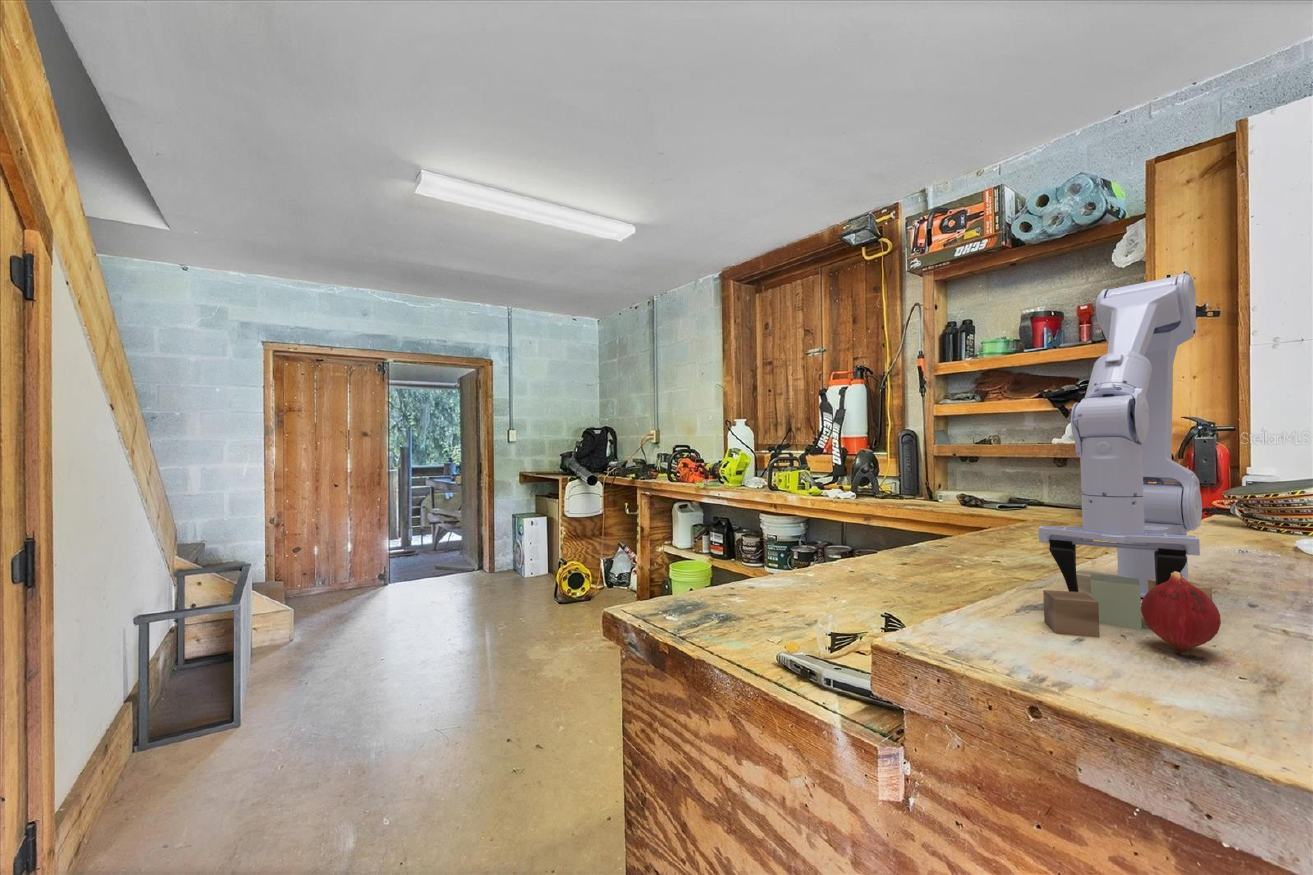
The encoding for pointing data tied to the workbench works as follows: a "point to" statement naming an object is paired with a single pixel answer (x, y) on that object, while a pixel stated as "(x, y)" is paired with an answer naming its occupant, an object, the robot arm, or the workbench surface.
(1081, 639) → the workbench surface
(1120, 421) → the robot arm
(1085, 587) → the maple block
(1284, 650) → the workbench surface
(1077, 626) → the walnut block
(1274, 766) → the workbench surface
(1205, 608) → the onion
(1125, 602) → the sage block
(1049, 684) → the workbench surface
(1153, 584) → the oak block
